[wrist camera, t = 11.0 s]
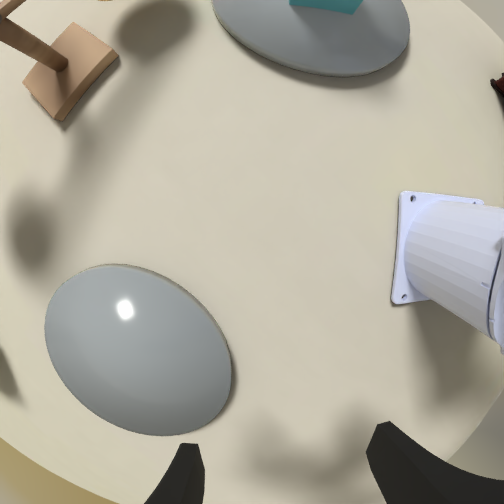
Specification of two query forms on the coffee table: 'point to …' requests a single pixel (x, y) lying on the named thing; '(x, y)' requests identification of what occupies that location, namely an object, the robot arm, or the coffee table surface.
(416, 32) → the coffee table surface
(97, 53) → the balance
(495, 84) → the mate gourd
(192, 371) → the grey round disc
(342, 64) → the dish low side
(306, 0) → the block
